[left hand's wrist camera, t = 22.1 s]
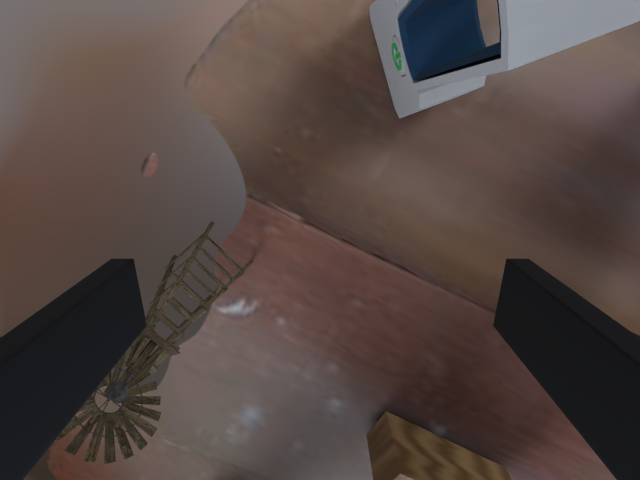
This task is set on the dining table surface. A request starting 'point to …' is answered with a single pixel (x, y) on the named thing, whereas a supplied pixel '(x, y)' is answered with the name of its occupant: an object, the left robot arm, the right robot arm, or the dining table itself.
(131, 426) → the miniature windmill
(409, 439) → the box
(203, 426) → the dining table surface
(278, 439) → the dining table surface
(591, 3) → the electronic device
